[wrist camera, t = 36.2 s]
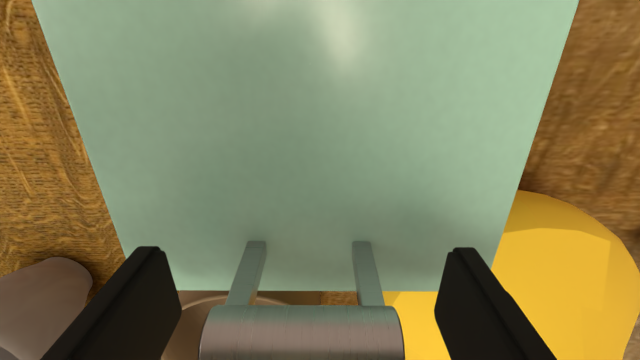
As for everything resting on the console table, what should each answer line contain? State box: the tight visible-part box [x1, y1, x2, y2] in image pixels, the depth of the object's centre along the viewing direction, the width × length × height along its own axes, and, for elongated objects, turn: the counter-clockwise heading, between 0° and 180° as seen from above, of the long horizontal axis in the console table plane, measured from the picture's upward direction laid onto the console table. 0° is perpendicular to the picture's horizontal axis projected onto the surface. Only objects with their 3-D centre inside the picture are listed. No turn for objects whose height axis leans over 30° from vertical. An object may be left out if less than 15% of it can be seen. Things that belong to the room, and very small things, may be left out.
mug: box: [0, 257, 93, 360], centre depth 28 cm, size 12×9×10 cm
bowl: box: [161, 290, 321, 360], centre depth 26 cm, size 13×13×10 cm
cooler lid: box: [31, 0, 579, 360], centre depth 8 cm, size 12×15×6 cm
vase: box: [382, 190, 640, 360], centre depth 21 cm, size 18×18×19 cm
